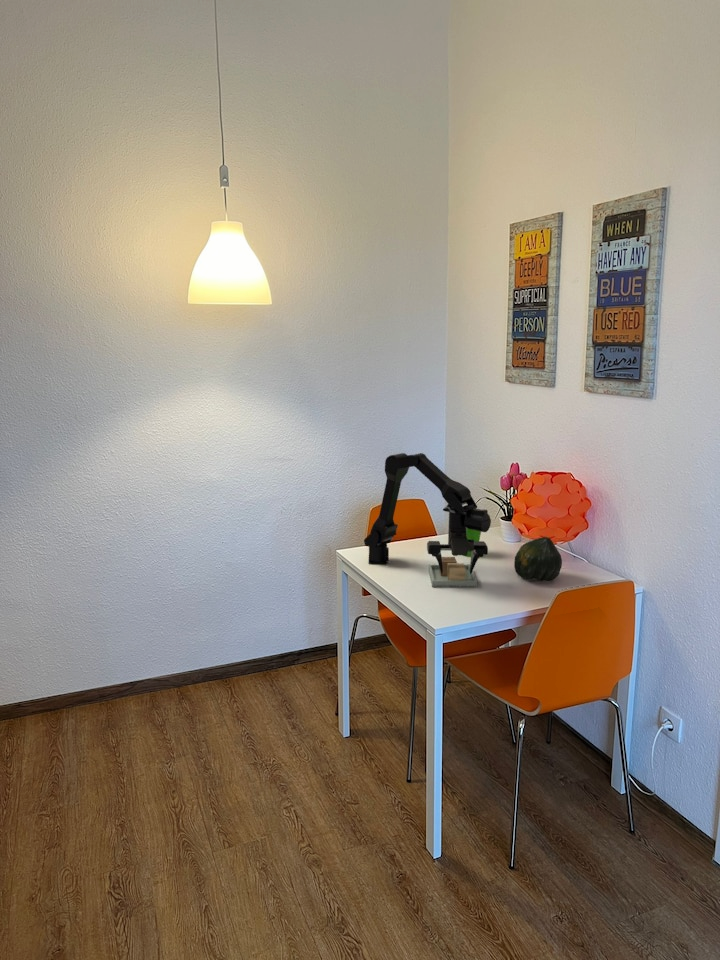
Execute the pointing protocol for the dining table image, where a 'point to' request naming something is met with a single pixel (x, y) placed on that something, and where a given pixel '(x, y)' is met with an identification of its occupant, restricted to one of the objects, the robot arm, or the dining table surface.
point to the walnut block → (446, 564)
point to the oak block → (456, 571)
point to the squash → (538, 560)
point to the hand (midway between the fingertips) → (456, 573)
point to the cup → (472, 537)
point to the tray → (444, 582)
